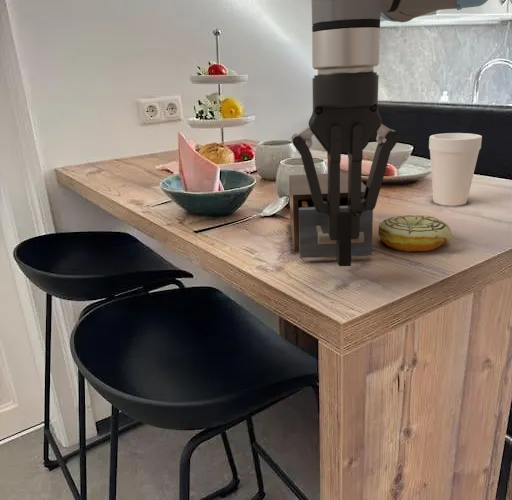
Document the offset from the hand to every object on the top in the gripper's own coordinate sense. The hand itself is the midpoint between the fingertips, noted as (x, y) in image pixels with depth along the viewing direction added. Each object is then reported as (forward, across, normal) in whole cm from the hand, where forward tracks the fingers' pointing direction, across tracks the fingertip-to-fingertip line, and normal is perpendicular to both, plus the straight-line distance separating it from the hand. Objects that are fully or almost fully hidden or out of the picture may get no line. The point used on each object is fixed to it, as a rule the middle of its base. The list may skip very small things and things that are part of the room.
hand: (343, 262), depth 65 cm
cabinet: (+3, 0, -20) cm, 20 cm away
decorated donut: (+3, -13, -14) cm, 20 cm away
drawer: (+2, 0, -11) cm, 11 cm away
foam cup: (+3, -27, -38) cm, 47 cm away
